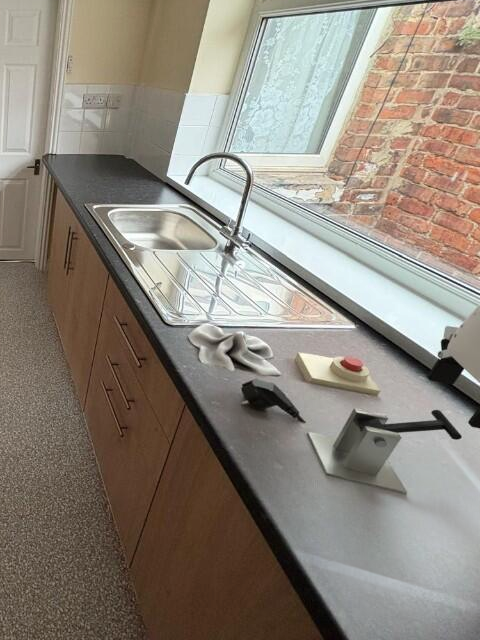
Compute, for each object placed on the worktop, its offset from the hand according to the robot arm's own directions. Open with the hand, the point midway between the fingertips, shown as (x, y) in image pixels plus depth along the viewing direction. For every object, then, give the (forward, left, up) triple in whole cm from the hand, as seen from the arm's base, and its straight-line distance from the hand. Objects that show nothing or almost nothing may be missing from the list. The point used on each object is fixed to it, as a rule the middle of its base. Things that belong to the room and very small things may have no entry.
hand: (459, 403), depth 63 cm
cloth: (+21, -27, -18) cm, 39 cm away
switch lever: (+4, 0, -8) cm, 9 cm away
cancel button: (0, -25, -14) cm, 29 cm away
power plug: (+18, -9, -18) cm, 27 cm away
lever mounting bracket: (+8, 0, -18) cm, 19 cm away
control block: (+2, -25, -18) cm, 31 cm away
